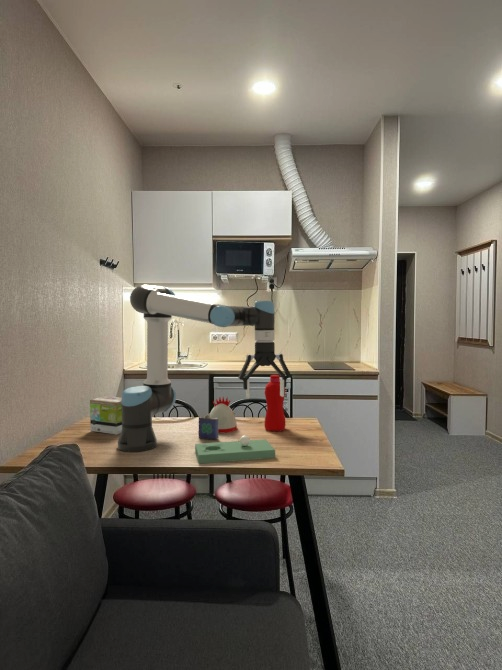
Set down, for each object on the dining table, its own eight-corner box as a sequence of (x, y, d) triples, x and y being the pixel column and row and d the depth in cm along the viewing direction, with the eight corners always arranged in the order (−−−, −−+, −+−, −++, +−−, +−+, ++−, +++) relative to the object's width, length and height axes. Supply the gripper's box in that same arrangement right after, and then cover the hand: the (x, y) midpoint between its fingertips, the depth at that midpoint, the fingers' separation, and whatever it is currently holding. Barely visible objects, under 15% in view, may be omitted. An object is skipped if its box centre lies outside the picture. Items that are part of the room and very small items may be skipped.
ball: (240, 447, 164) (240, 437, 164) (238, 444, 168) (238, 434, 168) (251, 447, 165) (250, 436, 165) (248, 444, 169) (248, 433, 169)
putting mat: (198, 463, 156) (198, 455, 156) (195, 451, 170) (195, 443, 170) (275, 457, 162) (275, 449, 162) (265, 446, 176) (265, 439, 176)
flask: (219, 438, 188) (219, 413, 187) (216, 440, 185) (216, 415, 184) (200, 436, 191) (199, 412, 191) (196, 438, 188) (196, 413, 188)
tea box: (89, 431, 200) (88, 399, 199) (104, 426, 209) (104, 395, 208) (116, 435, 194) (116, 401, 193) (131, 429, 203) (130, 397, 203)
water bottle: (286, 426, 208) (286, 373, 207) (284, 432, 197) (284, 376, 196) (267, 425, 210) (266, 373, 209) (263, 431, 199) (263, 376, 198)
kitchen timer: (235, 432, 197) (235, 399, 197) (205, 432, 198) (204, 399, 197) (237, 425, 211) (237, 393, 210) (208, 425, 211) (208, 393, 211)
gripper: (234, 342, 161) (235, 400, 162) (299, 341, 167) (299, 397, 168) (230, 341, 168) (231, 396, 169) (292, 340, 174) (292, 393, 175)
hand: (265, 397), depth 169 cm, fingers open, 13 cm apart
